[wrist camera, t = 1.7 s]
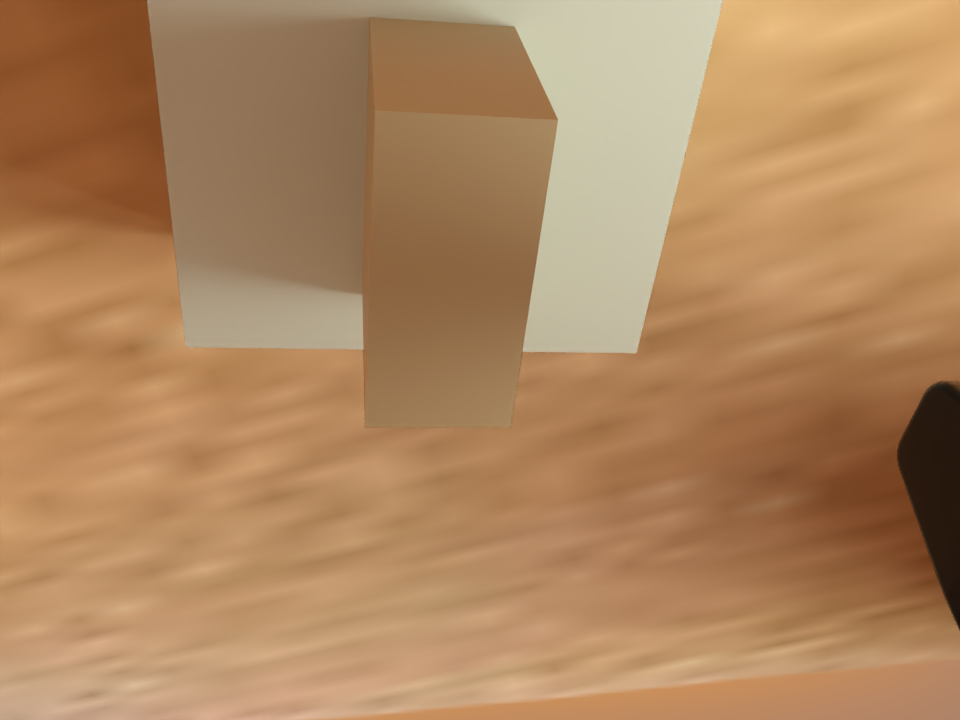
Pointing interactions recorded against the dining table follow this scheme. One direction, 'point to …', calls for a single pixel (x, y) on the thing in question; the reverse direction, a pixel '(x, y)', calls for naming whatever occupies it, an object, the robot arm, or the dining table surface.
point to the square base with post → (425, 181)
